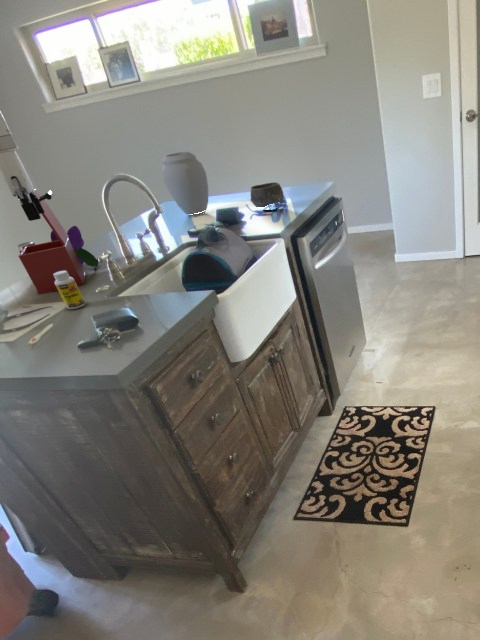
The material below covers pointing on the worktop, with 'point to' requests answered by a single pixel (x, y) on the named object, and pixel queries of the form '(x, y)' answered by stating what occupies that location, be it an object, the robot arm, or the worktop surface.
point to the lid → (51, 216)
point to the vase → (186, 182)
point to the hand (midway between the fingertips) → (37, 216)
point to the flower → (78, 246)
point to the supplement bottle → (68, 290)
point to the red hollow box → (51, 264)
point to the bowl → (266, 194)
